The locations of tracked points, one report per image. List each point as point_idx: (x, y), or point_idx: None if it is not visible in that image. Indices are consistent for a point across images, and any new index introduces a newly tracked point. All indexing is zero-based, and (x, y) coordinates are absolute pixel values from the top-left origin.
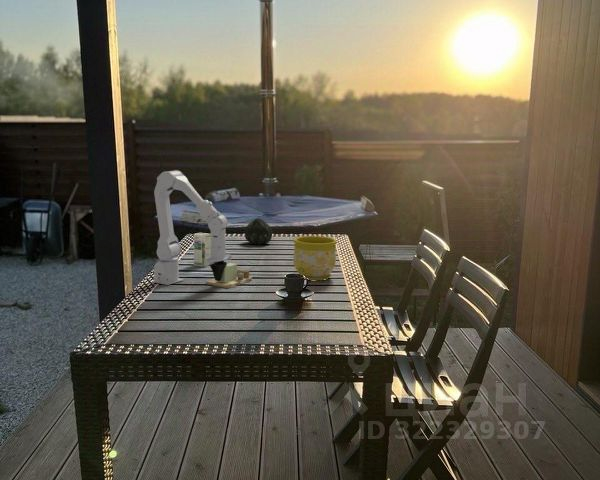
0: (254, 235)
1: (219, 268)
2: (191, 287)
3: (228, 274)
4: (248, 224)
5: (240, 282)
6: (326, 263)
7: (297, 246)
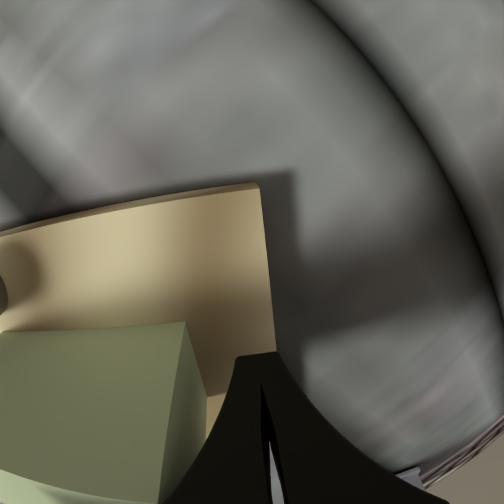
0: None
1: (400, 483)
2: (408, 405)
3: (88, 385)
4: None
5: (19, 228)
6: None
7: None
